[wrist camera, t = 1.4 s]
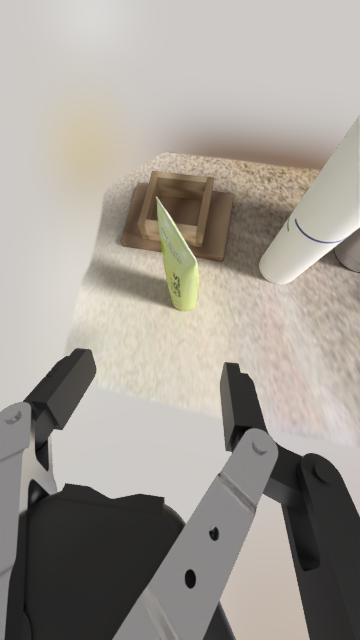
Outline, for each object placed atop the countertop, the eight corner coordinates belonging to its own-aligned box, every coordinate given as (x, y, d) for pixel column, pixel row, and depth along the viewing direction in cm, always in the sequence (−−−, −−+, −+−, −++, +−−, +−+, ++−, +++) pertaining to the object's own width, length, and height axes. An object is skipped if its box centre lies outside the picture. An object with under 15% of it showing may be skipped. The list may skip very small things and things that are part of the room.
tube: (164, 305, 35) (133, 241, 16) (174, 281, 36) (155, 193, 17) (193, 315, 35) (195, 261, 16) (202, 290, 36) (216, 210, 16)
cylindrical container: (267, 289, 35) (447, 123, 10) (253, 255, 36) (380, 42, 12) (304, 277, 35) (569, 87, 11) (289, 244, 36) (487, 11, 12)
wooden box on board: (232, 199, 39) (239, 174, 34) (222, 261, 37) (227, 243, 31) (139, 188, 41) (131, 162, 36) (123, 246, 38) (112, 227, 33)
